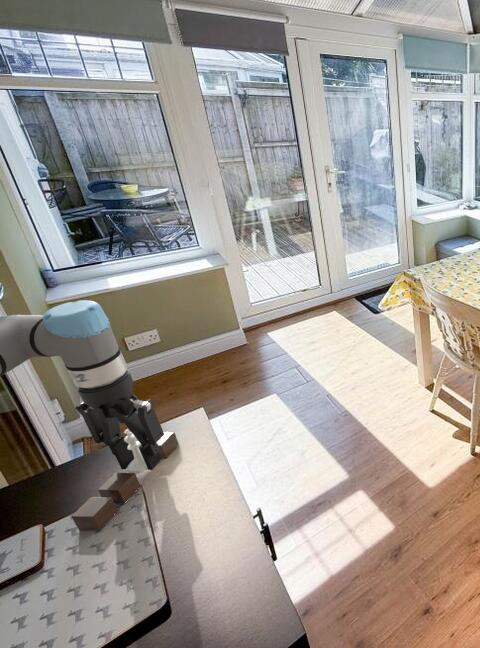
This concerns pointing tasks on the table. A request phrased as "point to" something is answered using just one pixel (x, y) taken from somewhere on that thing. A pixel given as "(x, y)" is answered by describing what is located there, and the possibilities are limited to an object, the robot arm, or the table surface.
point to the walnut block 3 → (167, 444)
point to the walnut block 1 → (94, 513)
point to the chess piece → (135, 454)
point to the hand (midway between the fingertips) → (141, 464)
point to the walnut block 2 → (120, 487)
